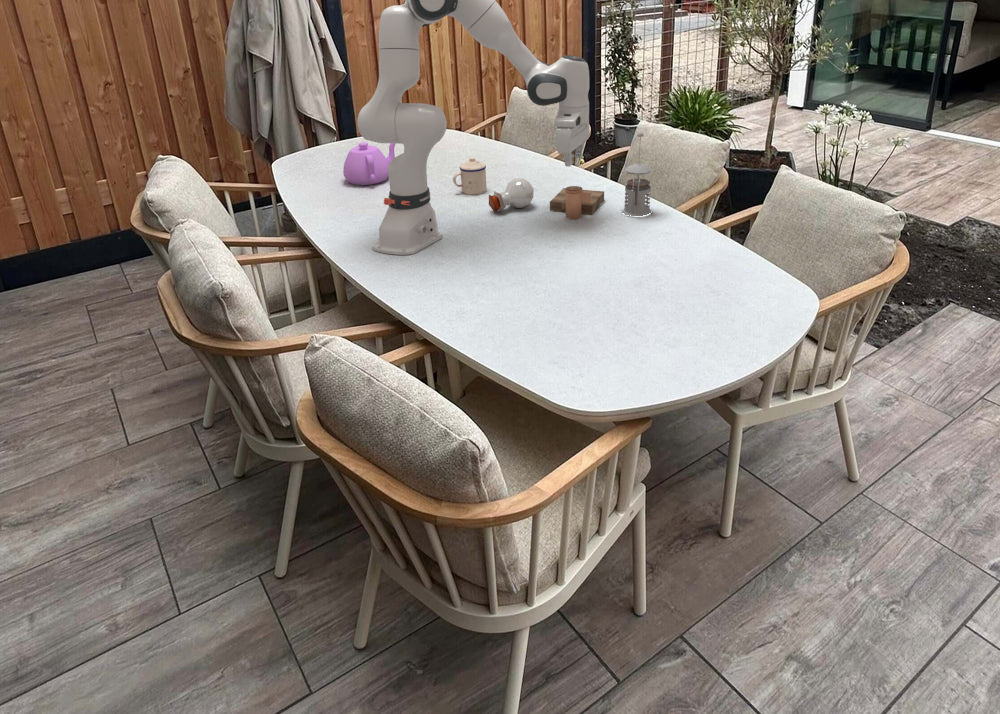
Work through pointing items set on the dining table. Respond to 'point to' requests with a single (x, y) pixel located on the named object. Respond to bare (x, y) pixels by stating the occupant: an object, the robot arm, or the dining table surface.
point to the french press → (637, 189)
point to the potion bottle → (512, 195)
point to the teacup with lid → (472, 177)
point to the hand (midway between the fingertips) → (573, 161)
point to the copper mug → (576, 201)
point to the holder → (587, 208)
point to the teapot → (367, 164)
